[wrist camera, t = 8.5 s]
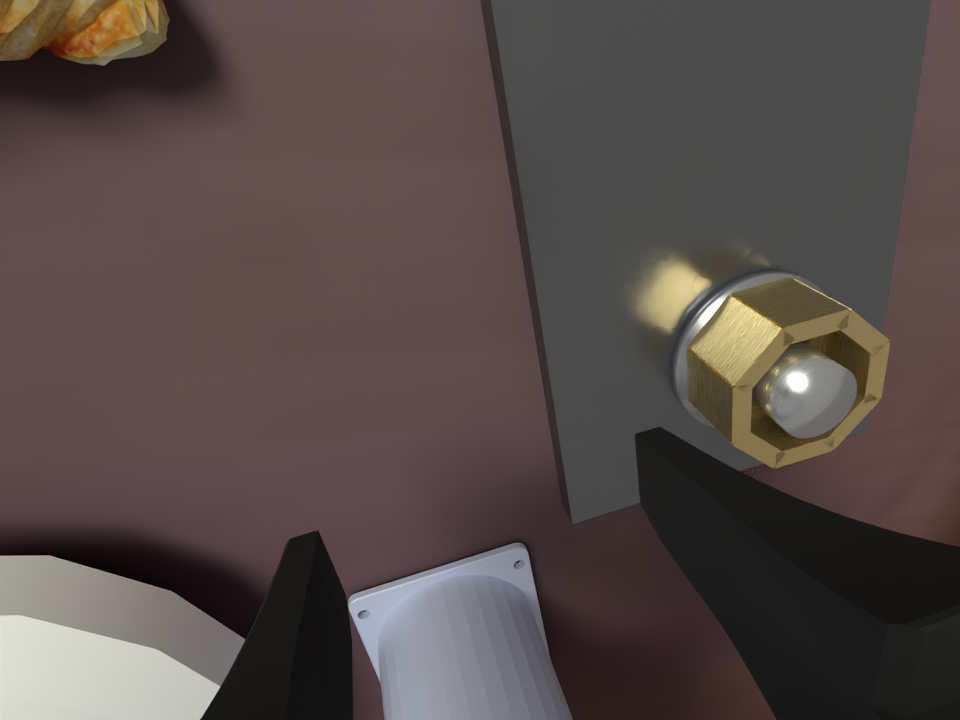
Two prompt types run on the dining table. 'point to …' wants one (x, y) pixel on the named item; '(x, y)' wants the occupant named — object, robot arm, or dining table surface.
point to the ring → (755, 348)
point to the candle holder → (103, 646)
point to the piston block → (695, 200)
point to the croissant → (82, 29)
